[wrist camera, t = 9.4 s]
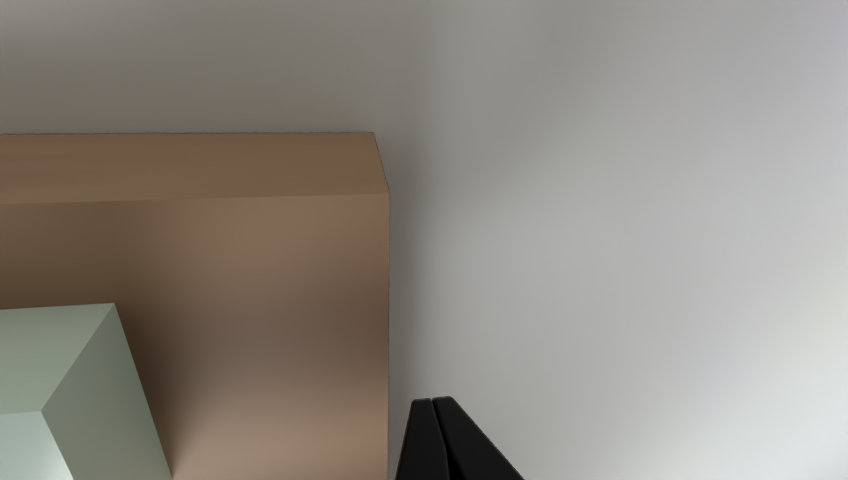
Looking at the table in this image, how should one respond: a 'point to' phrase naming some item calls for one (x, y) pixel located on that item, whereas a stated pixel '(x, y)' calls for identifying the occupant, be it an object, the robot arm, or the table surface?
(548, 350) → the table surface
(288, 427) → the tan bevelled block
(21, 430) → the tile
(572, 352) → the table surface
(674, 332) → the table surface
